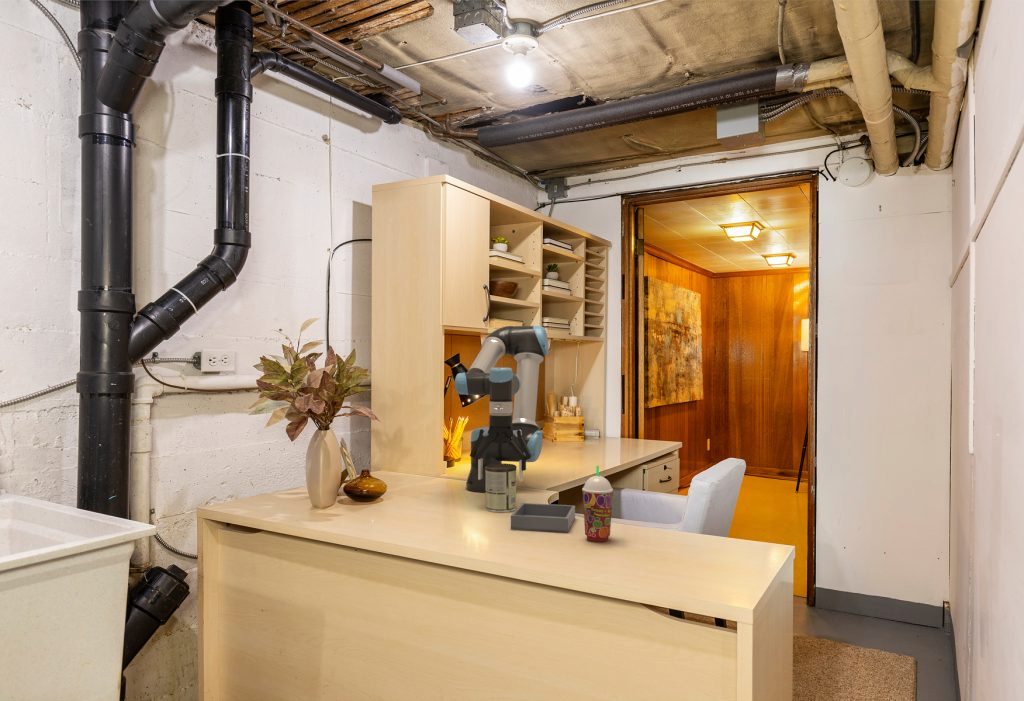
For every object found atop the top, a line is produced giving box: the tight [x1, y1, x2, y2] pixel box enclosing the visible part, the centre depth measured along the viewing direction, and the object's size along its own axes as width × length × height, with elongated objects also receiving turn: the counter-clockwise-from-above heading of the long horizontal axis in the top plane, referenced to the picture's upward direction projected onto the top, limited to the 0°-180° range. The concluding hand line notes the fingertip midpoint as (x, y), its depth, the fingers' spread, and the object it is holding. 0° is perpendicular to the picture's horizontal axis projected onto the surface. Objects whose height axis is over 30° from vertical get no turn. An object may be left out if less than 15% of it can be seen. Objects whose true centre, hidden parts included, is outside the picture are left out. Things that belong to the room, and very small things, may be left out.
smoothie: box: [581, 465, 614, 543], centre depth 179 cm, size 8×8×20 cm
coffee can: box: [485, 462, 518, 513], centre depth 214 cm, size 10×10×14 cm
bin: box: [510, 502, 576, 534], centre depth 195 cm, size 17×17×4 cm
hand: (500, 479), depth 214 cm, fingers open, 13 cm apart
